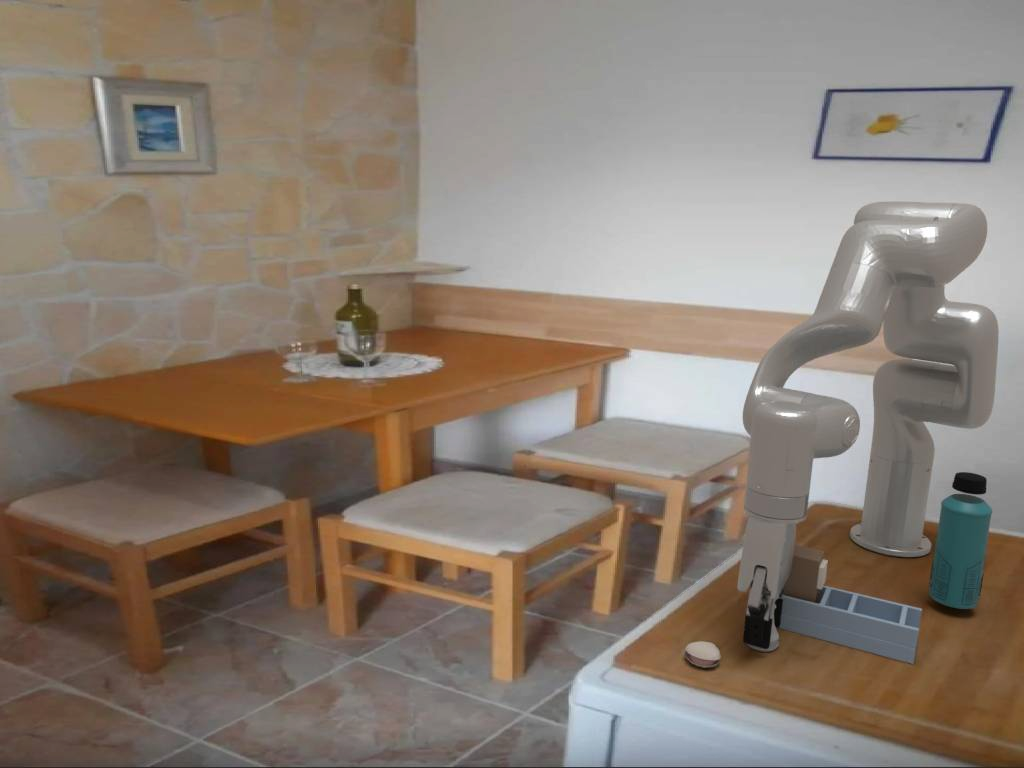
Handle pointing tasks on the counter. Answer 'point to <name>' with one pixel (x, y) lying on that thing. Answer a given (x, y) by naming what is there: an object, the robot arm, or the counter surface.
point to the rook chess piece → (774, 633)
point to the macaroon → (702, 654)
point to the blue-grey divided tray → (845, 612)
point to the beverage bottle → (961, 544)
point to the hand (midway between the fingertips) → (761, 633)
